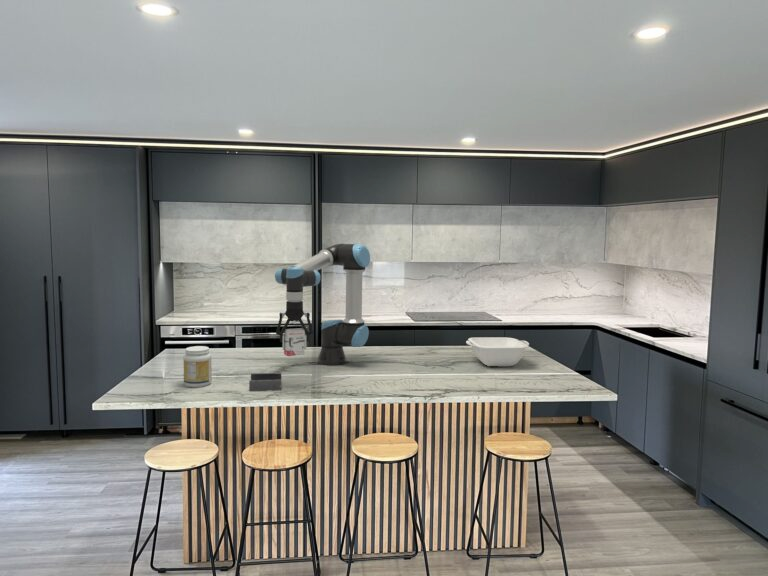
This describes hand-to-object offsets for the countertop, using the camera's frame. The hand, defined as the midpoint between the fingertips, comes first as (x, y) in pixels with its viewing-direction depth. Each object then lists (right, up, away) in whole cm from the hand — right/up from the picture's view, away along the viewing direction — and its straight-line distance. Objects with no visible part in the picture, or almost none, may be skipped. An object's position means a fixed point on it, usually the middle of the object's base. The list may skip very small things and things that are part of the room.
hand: (294, 349), depth 264 cm
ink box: (0, -3, 0) cm, 3 cm away
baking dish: (+103, -14, +52) cm, 117 cm away
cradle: (-13, -17, 0) cm, 21 cm away
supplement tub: (-45, -17, +1) cm, 48 cm away
